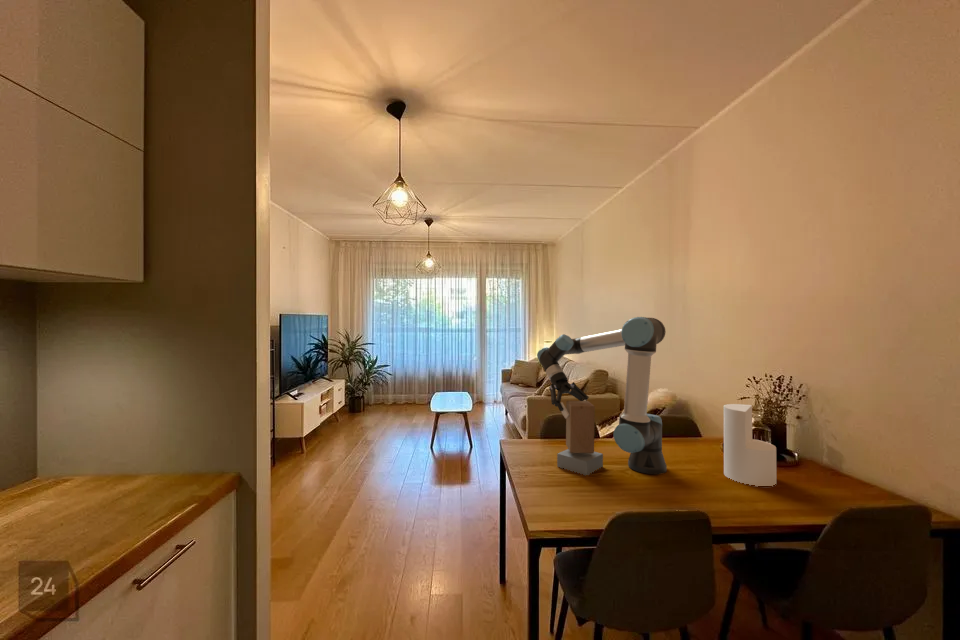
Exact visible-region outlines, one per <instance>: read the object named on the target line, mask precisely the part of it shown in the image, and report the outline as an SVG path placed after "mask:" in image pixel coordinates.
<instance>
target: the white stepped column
mask: <svg viewBox="0 0 960 640" xmlns="http://www.w3.org/2000/svg"><path fill="white" fill-rule="evenodd" d="M723 475H724V476H725V477H726V478H728V479H729V478H730V480H731V479H732V480H731V481H733V480H734V482H736V481H737V482H736V483H739V482H740V484H742V483H744V484H743V485H746V484H749V485H748V486H751V485H755V486H754V487H758V486H772V487H774V486H773V485H775V484H776V485H777V447H776V445H774V444H771V443H770V442H768V441H767V442H766V441H764V440H759V439H754V438H753V405H752V404H743V403H728V404H724V405H723ZM776 485H775V486H776Z"/></svg>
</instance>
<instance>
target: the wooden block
mask: <svg viewBox="0 0 960 640" xmlns="http://www.w3.org/2000/svg"><path fill="white" fill-rule="evenodd" d="M565 408H566V410H567V411H568V413H569V416H568V417H567V418H566V419H565V421H566V422H565V424H566V425H565V446H566V447H567V449H569V451H570V452H571V453H594V452H595V413H596V412H595V409H596V407H595V405H594V404H593V403H591V402H590V401H588V400H587V401H580V400H566V405H565Z"/></svg>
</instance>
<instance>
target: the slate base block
mask: <svg viewBox="0 0 960 640" xmlns="http://www.w3.org/2000/svg"><path fill="white" fill-rule="evenodd" d="M556 457H557V458H556V460H557V462H556V467H558V468H559V467H560V469H563V468H564V469H563V470H566V469H567V470H566V471H569V470H570V472H573V471H574V472H573V473H576V472H577V473H576V474H579V473H580V475H582V474H583V476H586V475H588V476H589V475H591V474H592V472H593V473H594V471H595V470H596V471H598V470H600V469H601V467H602V468H603V465H604V454H603V453H601V452H597V451H594V453H571V452H570V451H569V449H568V448H567V449H565V450H562V451H560V452H559V453H557V454H556ZM599 468H600V469H599ZM597 469H598V470H597ZM596 471H595V472H596ZM590 473H591V474H590Z"/></svg>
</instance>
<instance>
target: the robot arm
mask: <svg viewBox="0 0 960 640" xmlns="http://www.w3.org/2000/svg"><path fill="white" fill-rule="evenodd" d="M665 337H666V327H665V325H664V324H663V322H662V321H661V320H659V319H658V318H656V317H645V316H637V317H632V318H630V319H628V320H627V321H626V322H625V323H624V324H623V326H622V328H620V329H617V330H610V331H606V332H601V333H596V334H591V335H590V334H589V335H587V336H581V337H576V338H571V337H570V336H569V335H566V333H565V334H560V335H559V337H557V338H556V339H555V340H554V342H553V343H552V344H551V345H550V346H549V347H542V348H540V349H539V350H538V352H537V353H536V357H537V360H538V361H539V363H540V365H541V366H542V369H543V370H544V372H545V375H547V377H548V379H549V380H550V386H549V387H548V388H549V390H550V391H549V392H550V399H551V400H550V401H551V405H553V406H555V408H556V407H557V408H558V410H559V411H560V412H561V414H562V416H563V417H564V419H565V420H566V418H567V417H568V416H569V413H568V411H567V410H566V405H565V404H564V402H563V401H562V397H563V394H564V395H565V394H568V395H571V396H573V397H574V398H576V399H577V401H588V399H589V398H590V397H589V396H588V395H587V394H586V393H585V392H584V391H583V390H582V389H581V388H580V387H579V386H578V385H577V384H576V383H575V382H574V381H573V382H572V383H569V381H568V377H567V375H566V374H565V372H564V369H562V367H561V366H560V363H559V361H560V360H561V359H562V358H563V357H564V356H566V355H580V354H583V353H589V352H593V351H599V350H606V349H612V348H618V347H623V346H624V350H625V351H626V353H627V355H628V356H627V365H626V378H625V380H626V381H625V392H624V404H623V405H624V406H623V411H622V412H621V413H620V414H619V417H618V425H616V426H615V428H614V430H613V439H614V442H615V443H616V445H617V446H618V447H619V449H621V450H622V451H624V452H626V453H629V457H628V460H627V465H628V467H629V468H630V469H631V470H634V471H636V472H638V473H642V474H647V475H648V474H649V475H661V474H662V475H663V474H665V473H666V472H667V468H668V467H667V463H666V461H665V457H664V454H663V422H662V421H663V420H662V417H661V416H660V415H657V414H651V413H647V412H648V403H649V389H650V378H651V377H650V375H651V367H652V366H651V365H652V364H651V363H652V356H653V355H654V354H656V352H657V345H658V344H660V343H661V342H662V341H663V340H664V339H665Z"/></svg>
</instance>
